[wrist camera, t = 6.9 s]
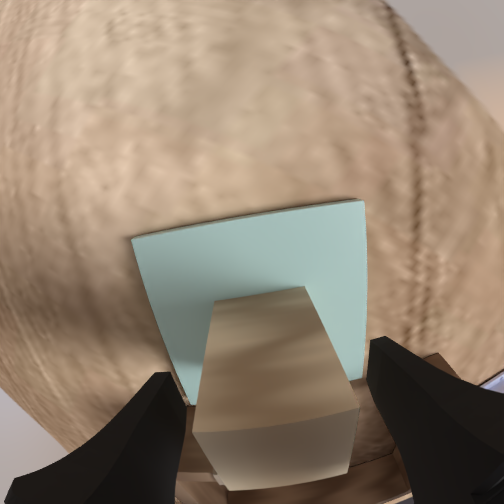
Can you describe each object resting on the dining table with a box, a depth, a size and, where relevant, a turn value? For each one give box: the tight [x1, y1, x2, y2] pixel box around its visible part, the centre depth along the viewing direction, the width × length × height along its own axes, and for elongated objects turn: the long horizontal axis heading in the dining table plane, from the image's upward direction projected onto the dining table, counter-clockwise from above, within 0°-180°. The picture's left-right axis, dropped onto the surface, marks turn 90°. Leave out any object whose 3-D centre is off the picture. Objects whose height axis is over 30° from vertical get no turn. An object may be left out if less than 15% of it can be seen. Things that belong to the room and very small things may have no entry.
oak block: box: [192, 286, 360, 491], centre depth 9 cm, size 4×4×7 cm
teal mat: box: [131, 199, 367, 405], centre depth 13 cm, size 10×10×1 cm
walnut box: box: [175, 353, 461, 504], centre depth 15 cm, size 18×14×5 cm
